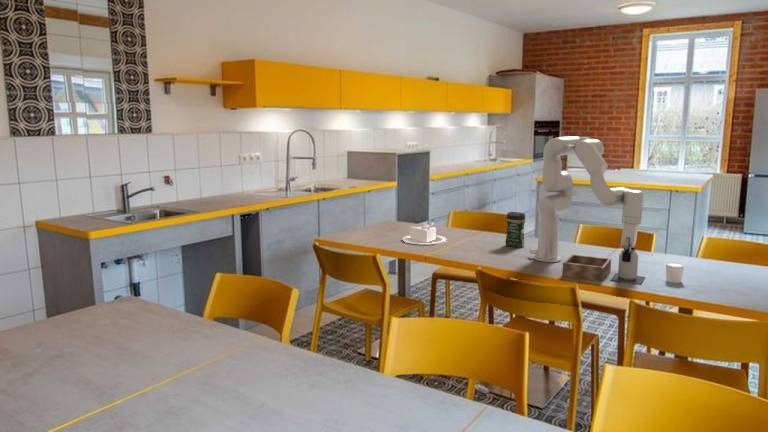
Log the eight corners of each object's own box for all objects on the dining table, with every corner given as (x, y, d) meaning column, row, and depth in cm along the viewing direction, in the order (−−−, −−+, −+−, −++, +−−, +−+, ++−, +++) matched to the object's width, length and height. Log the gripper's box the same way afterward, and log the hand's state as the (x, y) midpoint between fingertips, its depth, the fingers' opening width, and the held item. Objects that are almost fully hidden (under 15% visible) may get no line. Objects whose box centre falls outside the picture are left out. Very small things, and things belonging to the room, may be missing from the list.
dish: (453, 239, 326) (453, 219, 324) (433, 248, 305) (433, 227, 304) (416, 234, 339) (416, 216, 337) (394, 243, 319) (394, 223, 317)
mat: (610, 280, 242) (610, 279, 242) (615, 273, 252) (615, 273, 252) (641, 284, 236) (641, 283, 235) (645, 277, 246) (645, 276, 246)
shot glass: (661, 278, 244) (662, 262, 243) (676, 278, 244) (678, 262, 243) (670, 283, 237) (671, 267, 236) (686, 282, 238) (687, 266, 237)
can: (638, 281, 239) (640, 253, 237) (619, 280, 241) (620, 252, 239) (635, 276, 247) (636, 249, 244) (616, 275, 248) (618, 248, 246)
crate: (562, 275, 250) (562, 262, 249) (571, 267, 264) (572, 254, 263) (603, 281, 241) (603, 267, 240) (610, 271, 255) (611, 258, 254)
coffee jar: (503, 246, 306) (504, 212, 303) (509, 243, 313) (510, 210, 309) (520, 248, 300) (521, 214, 297) (526, 246, 307) (527, 211, 303)
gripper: (625, 215, 248) (622, 253, 252) (618, 222, 234) (615, 262, 237) (644, 217, 245) (640, 255, 248) (638, 224, 230) (634, 265, 233)
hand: (628, 259), depth 243 cm, fingers open, 9 cm apart
